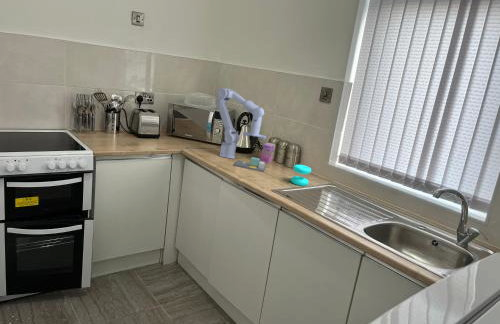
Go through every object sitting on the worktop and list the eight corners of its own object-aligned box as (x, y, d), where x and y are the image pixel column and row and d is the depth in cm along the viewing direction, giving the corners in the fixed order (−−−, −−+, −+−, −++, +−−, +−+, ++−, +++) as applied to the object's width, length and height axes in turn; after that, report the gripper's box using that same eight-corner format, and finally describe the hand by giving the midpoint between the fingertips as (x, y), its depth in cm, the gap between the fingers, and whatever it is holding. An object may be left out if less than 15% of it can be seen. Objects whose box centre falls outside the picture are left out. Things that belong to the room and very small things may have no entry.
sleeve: (249, 164, 230) (251, 158, 229) (250, 162, 234) (252, 157, 233) (258, 166, 229) (259, 160, 228) (258, 164, 234) (260, 158, 233)
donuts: (307, 165, 219) (314, 170, 210) (303, 181, 222) (310, 187, 212) (291, 163, 216) (298, 168, 207) (287, 179, 219) (294, 185, 209)
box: (268, 163, 248) (271, 146, 246) (259, 161, 250) (263, 144, 247) (272, 161, 258) (275, 144, 255) (264, 159, 260) (267, 142, 257)
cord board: (234, 165, 227) (235, 159, 226) (237, 161, 239) (238, 155, 238) (264, 172, 226) (265, 165, 225) (265, 167, 237) (266, 161, 236)
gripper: (243, 125, 233) (239, 147, 237) (266, 130, 232) (262, 151, 235) (244, 124, 240) (241, 145, 243) (267, 128, 239) (263, 149, 242)
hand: (251, 148), depth 240 cm, fingers closed
